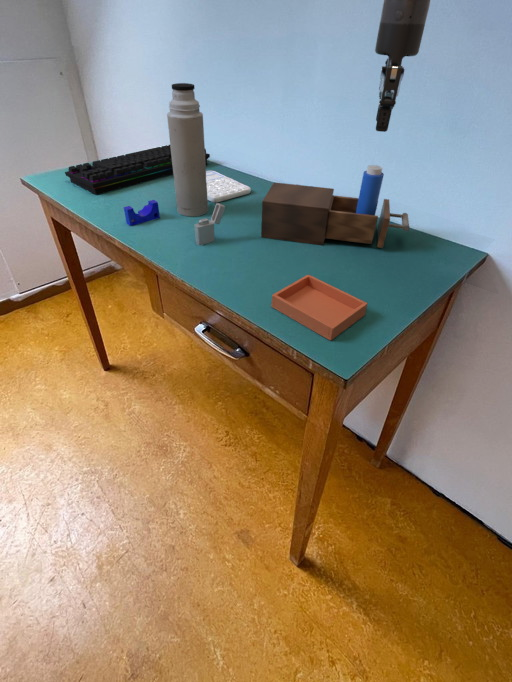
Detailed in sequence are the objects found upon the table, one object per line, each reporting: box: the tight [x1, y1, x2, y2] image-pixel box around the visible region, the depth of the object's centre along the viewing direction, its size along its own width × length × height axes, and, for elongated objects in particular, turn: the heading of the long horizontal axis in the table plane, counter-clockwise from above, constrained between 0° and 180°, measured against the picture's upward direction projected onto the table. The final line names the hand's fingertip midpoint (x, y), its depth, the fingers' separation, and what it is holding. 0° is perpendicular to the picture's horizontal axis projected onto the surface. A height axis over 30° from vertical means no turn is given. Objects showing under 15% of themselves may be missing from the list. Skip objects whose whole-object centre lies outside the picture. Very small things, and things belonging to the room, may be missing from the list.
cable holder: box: [123, 199, 161, 227], centre depth 97 cm, size 8×4×4 cm, turn 130°
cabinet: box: [260, 182, 335, 246], centre depth 93 cm, size 15×13×9 cm
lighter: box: [194, 202, 226, 246], centre depth 88 cm, size 7×2×8 cm, turn 125°
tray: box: [271, 274, 369, 342], centre depth 70 cm, size 13×10×3 cm
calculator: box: [206, 170, 252, 204], centre depth 115 cm, size 13×20×2 cm, turn 40°
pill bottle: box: [356, 164, 385, 215], centre depth 88 cm, size 4×4×14 cm
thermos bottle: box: [166, 82, 209, 217], centre depth 94 cm, size 8×8×28 cm
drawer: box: [325, 194, 410, 249], centre depth 91 cm, size 18×11×7 cm, turn 76°
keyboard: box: [64, 144, 211, 196], centre depth 124 cm, size 42×16×5 cm, turn 137°
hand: (381, 126), depth 78 cm, fingers open, 8 cm apart
